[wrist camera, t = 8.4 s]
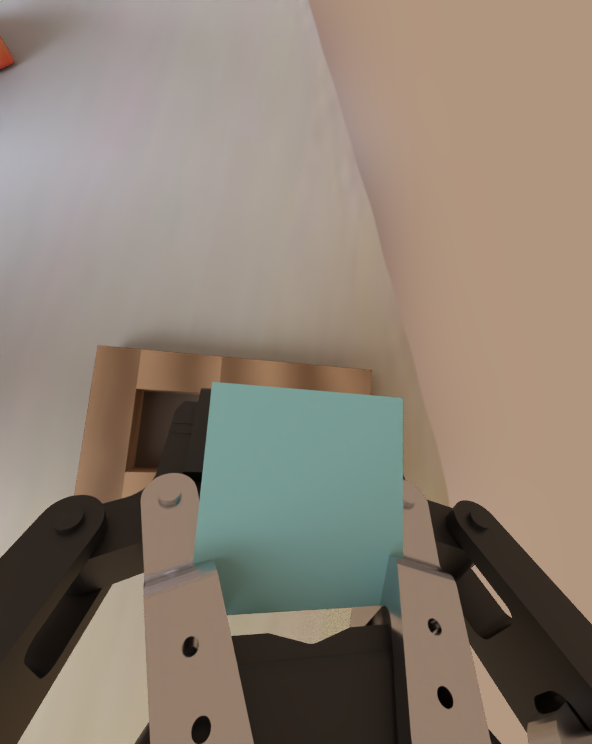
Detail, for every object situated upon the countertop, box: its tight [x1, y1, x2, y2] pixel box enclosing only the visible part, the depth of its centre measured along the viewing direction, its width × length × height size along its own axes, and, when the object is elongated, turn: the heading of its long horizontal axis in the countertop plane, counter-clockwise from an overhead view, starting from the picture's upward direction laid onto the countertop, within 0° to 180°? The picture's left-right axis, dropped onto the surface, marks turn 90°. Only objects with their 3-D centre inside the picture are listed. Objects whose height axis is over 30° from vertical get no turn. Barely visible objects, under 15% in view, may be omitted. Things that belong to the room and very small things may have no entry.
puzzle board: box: [74, 345, 372, 503], centre depth 26 cm, size 22×12×3 cm, turn 87°
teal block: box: [193, 382, 403, 615], centre depth 11 cm, size 4×4×9 cm
